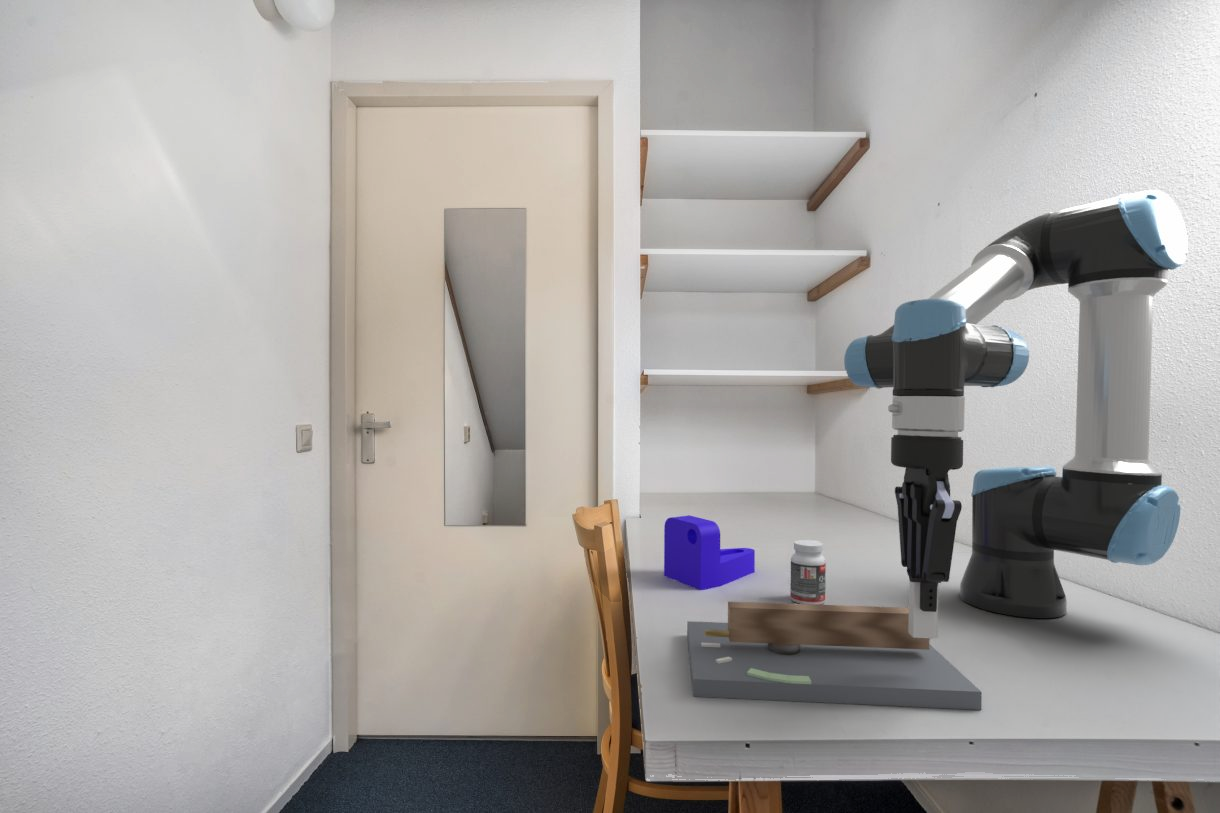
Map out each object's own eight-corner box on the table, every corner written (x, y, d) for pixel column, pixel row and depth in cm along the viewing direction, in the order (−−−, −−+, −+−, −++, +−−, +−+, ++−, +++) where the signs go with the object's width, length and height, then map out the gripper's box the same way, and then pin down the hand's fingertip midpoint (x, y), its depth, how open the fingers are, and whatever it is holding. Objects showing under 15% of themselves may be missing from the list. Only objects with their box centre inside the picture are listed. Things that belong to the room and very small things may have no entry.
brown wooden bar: (918, 647, 81) (919, 606, 81) (931, 660, 77) (932, 616, 77) (704, 639, 84) (704, 598, 84) (706, 651, 80) (706, 608, 80)
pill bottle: (827, 607, 104) (828, 547, 103) (791, 605, 105) (792, 545, 105) (822, 597, 109) (823, 540, 109) (789, 594, 110) (789, 538, 110)
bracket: (700, 591, 113) (701, 525, 113) (664, 576, 122) (664, 515, 122) (772, 576, 122) (772, 516, 122) (733, 564, 131) (733, 507, 131)
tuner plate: (913, 643, 88) (913, 627, 88) (981, 709, 69) (981, 689, 69) (687, 635, 91) (687, 619, 91) (693, 696, 72) (693, 676, 72)
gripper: (874, 430, 80) (871, 615, 80) (915, 435, 67) (911, 656, 67) (936, 432, 79) (932, 618, 80) (989, 437, 67) (984, 659, 67)
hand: (922, 635), depth 73 cm, fingers closed
